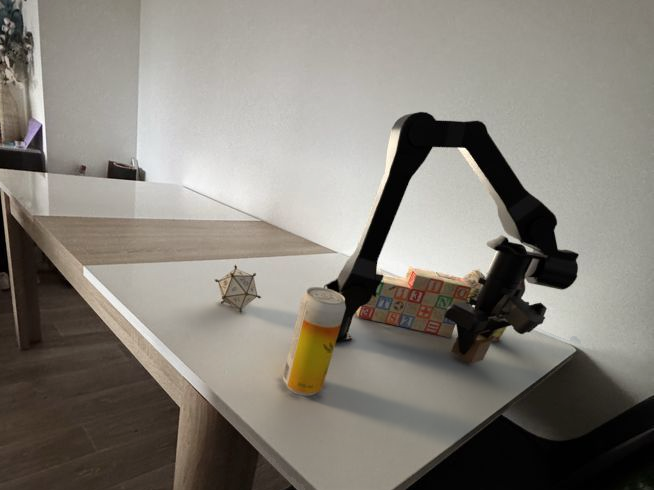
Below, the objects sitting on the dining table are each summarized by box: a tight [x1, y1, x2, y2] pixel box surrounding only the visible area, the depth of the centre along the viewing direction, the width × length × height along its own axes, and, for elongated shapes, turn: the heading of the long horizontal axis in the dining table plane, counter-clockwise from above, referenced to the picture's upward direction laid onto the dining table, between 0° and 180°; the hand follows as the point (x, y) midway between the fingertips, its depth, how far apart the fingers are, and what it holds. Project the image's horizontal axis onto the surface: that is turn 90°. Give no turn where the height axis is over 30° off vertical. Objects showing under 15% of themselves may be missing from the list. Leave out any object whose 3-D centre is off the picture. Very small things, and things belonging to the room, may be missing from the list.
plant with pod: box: [462, 269, 486, 307], centre depth 96 cm, size 8×11×20 cm
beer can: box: [282, 286, 346, 397], centre depth 56 cm, size 6×6×15 cm
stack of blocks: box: [356, 266, 472, 338], centre depth 87 cm, size 21×6×12 cm, turn 86°
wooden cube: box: [450, 334, 493, 365], centre depth 76 cm, size 4×4×5 cm
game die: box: [214, 264, 262, 314], centre depth 78 cm, size 9×8×10 cm
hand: (468, 351), depth 77 cm, fingers closed on wooden cube, 4 cm apart
